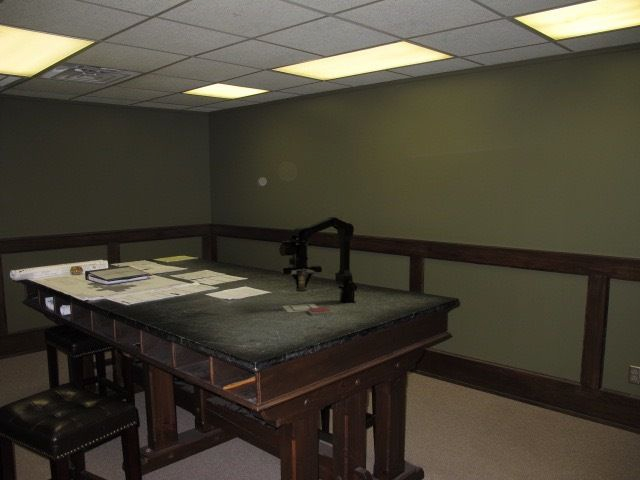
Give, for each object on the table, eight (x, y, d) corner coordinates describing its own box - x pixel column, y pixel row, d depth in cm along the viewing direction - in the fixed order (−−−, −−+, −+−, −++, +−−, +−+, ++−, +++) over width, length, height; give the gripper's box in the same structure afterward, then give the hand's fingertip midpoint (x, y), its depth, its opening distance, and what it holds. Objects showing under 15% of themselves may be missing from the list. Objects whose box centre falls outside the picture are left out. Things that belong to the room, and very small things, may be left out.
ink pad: (327, 309, 238) (327, 306, 238) (332, 313, 230) (332, 310, 230) (306, 311, 235) (306, 308, 235) (311, 315, 227) (311, 312, 227)
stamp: (307, 291, 238) (307, 275, 237) (297, 291, 236) (297, 276, 236) (304, 289, 243) (304, 273, 242) (294, 289, 241) (294, 274, 240)
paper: (313, 304, 248) (313, 303, 248) (321, 310, 237) (321, 309, 237) (281, 306, 244) (281, 305, 244) (287, 312, 232) (287, 311, 232)
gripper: (315, 251, 248) (315, 283, 250) (277, 253, 242) (278, 285, 244) (322, 254, 237) (322, 287, 239) (283, 256, 232) (283, 290, 234)
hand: (301, 287), depth 239 cm, fingers closed on stamp, 4 cm apart
